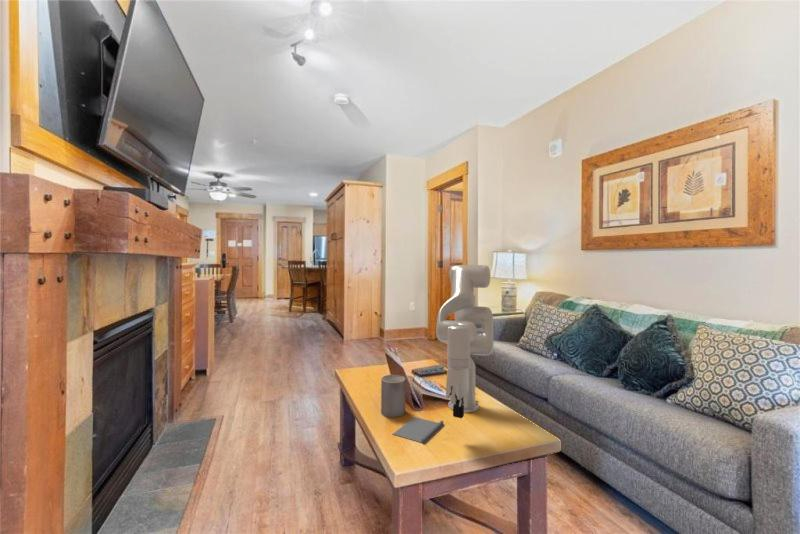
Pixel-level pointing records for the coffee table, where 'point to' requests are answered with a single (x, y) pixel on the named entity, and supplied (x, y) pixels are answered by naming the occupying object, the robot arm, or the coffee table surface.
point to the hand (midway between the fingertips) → (458, 416)
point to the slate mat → (419, 430)
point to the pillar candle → (393, 395)
